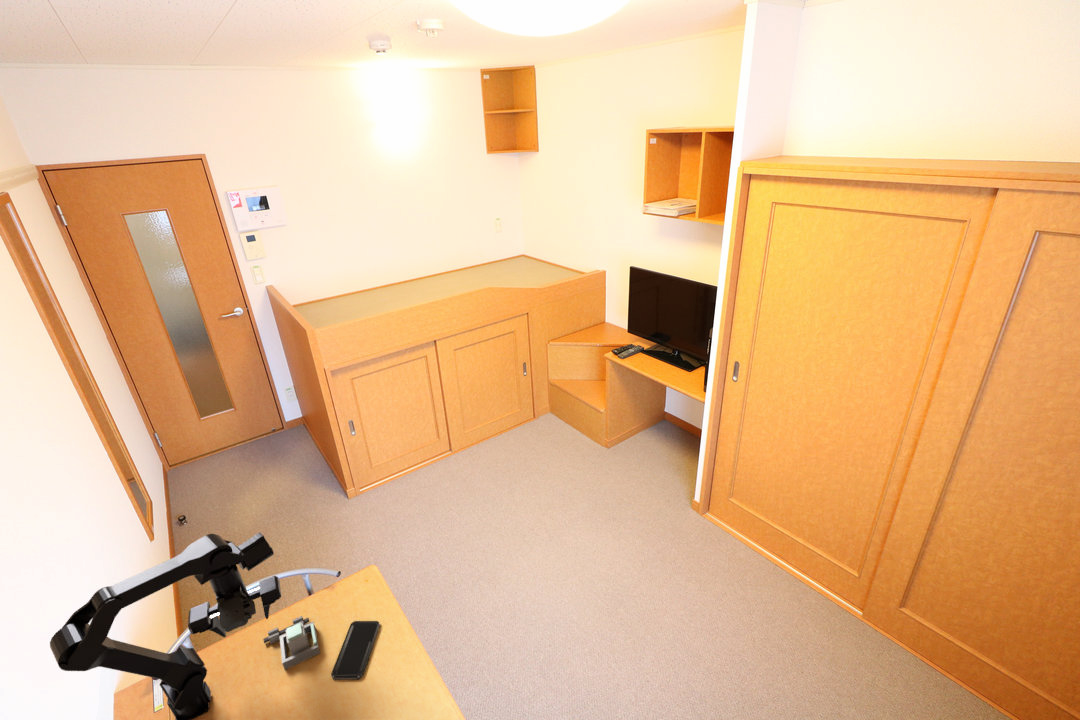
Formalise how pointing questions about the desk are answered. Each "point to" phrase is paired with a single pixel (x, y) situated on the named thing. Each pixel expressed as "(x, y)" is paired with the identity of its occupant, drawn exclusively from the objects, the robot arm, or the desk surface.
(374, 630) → the phone
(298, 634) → the block
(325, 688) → the desk surface
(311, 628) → the frame
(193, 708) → the robot arm
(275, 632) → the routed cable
